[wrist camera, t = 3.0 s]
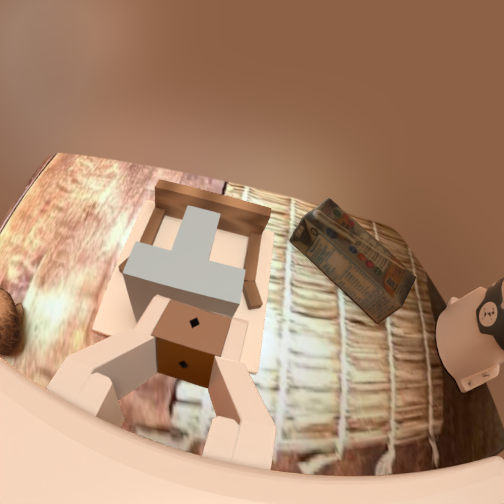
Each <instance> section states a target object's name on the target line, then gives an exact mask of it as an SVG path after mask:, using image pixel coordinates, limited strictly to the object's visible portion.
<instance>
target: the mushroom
mask: <svg viewBox="0 0 504 504" xmlns="http://www.w3.org/2000/svg"><path fill="white" fill-rule="evenodd" d="M22 319H23V306H22V304H21V303H18V304H17V305H15V303H14V301H13V299H12V297H11V295H10V294H9V293H8V292H7V291H5V290H4V289H2V288H0V354H2V355H8V356H9V355H11V354H13V353H14V352H15V351H17V350H18V348H19V346H20V341H21V324H22Z"/></svg>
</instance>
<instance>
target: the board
mask: <svg viewBox="0 0 504 504" xmlns="http://www.w3.org/2000/svg"><path fill="white" fill-rule="evenodd" d="M154 208H155V201H150V200H146V202H145V204H144V206H143V208H142V210H141V212H140V214H139V216H138V218H137V221H136V223H135V225H134V227H133V229H132V231H131V233H130V235H129V238H128V240H127V242H126V244H125V246H124V249H123V251H122V253H121V256H120V258H119V260H118V262H117V265H116V267H115V270H114V272H113V274H112V277H111V279H110V282H109V284H108V287H107V289H106V292H105V295H104V297H103V300H102V303H101V305H100V308H99V311H98V314H97V316H96V319H95V322H94V325H93V328H92V330H93V331H94V332H96V333H99V334H101V335H104V336H107V337H110V336H113V335H115V334H117V333H119V332H121V331H123V330H126V329H128V328H132V329H134V328H135V326H136V324H137V323H136V319H135V316H134V313H133V310H132V306H131V303H130V299H129V296H128V292H127V288H126V285H125V281H124V277H123V274H122V273H121V272H120V271H119V267H118V266H119V265H120V264H121V263H122V262H123V261H125V260H126V259H127V258H128V257H129V256H130V253H131V251H132V249H133V246H134V244H135V242H136V241H137V242H139V241H140V239H141V237H142V235H143V232H144V230H145V228H146V225H147V223H148V221H149V219H150V217H151V215H152V212H153V210H154ZM181 222H182V220H181V219H177V218H173V217H169V216H165V217H164V219H163V221H162V224H161V226H160V229H159V231H158V233H157V236H156V238H155V241H154V243H153V246H156V247H160V248H163V249H167V250H172V247H173V244H174V241H175V238H176V236H177V233H178V230H179V227H180V225H181ZM248 240H249V237H247V236H243V235H239V234H235V233H231V232H228V231H224V230H220V229H217V230H216V234H215V238H214V242H213V245H212V249H211V254H210V258H209V261H213V262H217V263H221V264H225V265H229V266H233V267H237V268H241V269H244V263H245V257H246V251H247V246H248ZM273 240H274V232H270V231H266V230H264V231H263V233H262V237H261V244H260V251H259V259H258V266H257V273H256V280H255V282H256V285H257V288H258V291H259V294H260V297H261V299H262V302H263V305H262V306H261V307H260V308H257V309H252V310H248V307H247V304H246V301H245V297H244V294H243V291H242V295H241V301H240V305H239V307H238V309H237V310H236V312H235V314H234V316H233V317H235V318H239V319H243V320H247V321H248V323H249V324H248V328H247V333H246V337H245V341H244V346H243V350H242V354H241V359H240V363H244V364H245V366H246V368H247V370H248V372H249V373H253V374H256V373H258V369H259V361H260V353H261V345H262V337H263V329H264V320H265V312H266V304H267V295H268V286H269V277H270V268H271V259H272V250H273Z"/></svg>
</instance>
